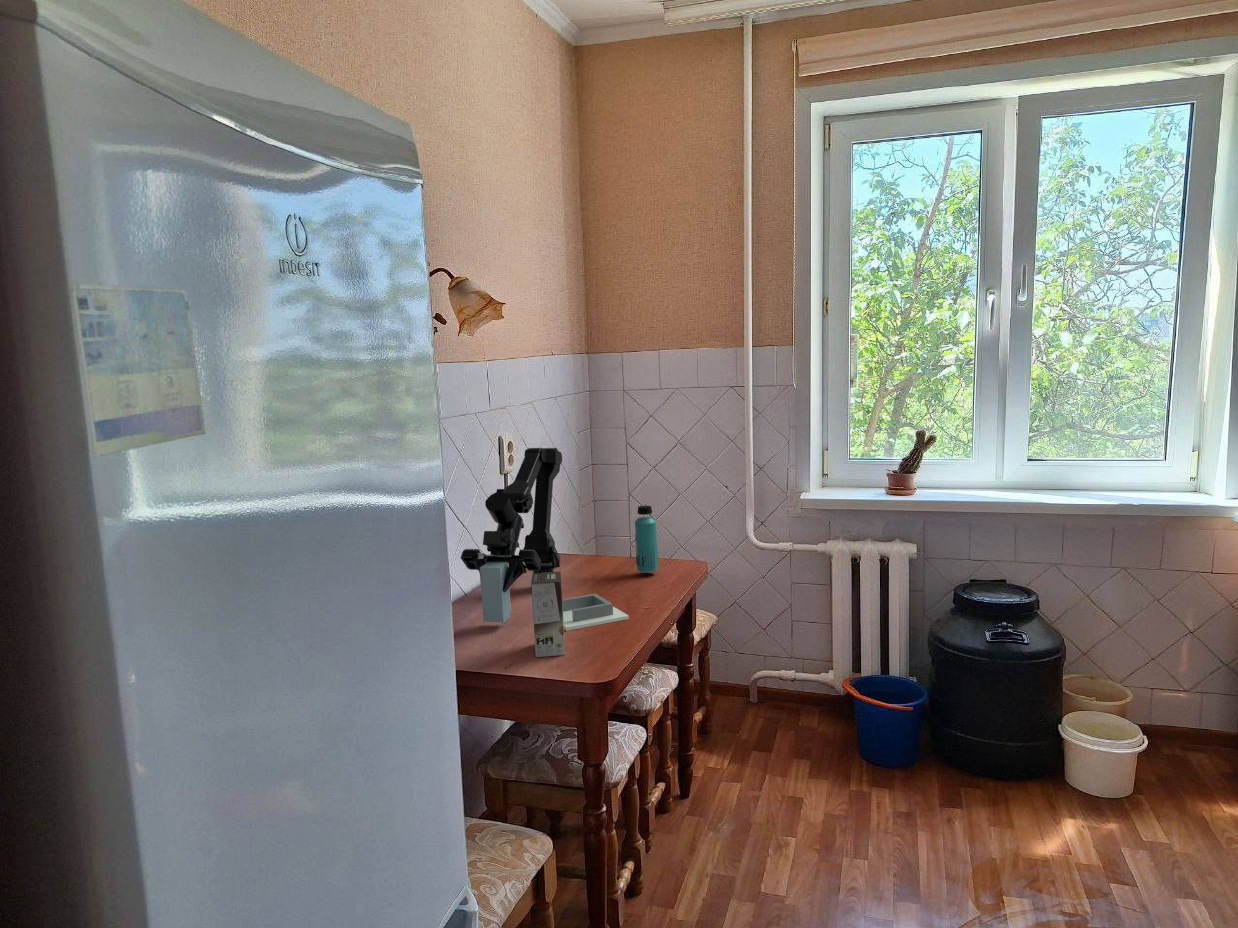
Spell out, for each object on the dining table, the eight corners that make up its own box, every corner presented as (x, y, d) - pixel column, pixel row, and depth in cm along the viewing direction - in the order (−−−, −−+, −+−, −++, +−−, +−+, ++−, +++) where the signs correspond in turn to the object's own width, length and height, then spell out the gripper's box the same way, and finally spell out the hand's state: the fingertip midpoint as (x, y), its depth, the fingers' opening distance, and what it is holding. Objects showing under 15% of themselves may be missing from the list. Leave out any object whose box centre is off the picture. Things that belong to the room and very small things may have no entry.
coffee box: (565, 655, 175) (561, 581, 173) (535, 657, 174) (530, 583, 172) (564, 641, 184) (560, 570, 182) (536, 643, 183) (531, 572, 181)
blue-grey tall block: (491, 614, 199) (488, 562, 197) (511, 615, 198) (507, 562, 196) (483, 621, 194) (479, 567, 192) (503, 622, 193) (499, 567, 191)
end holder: (542, 613, 205) (542, 599, 205) (601, 602, 212) (601, 589, 211) (566, 630, 191) (565, 616, 190) (628, 618, 197) (628, 604, 197)
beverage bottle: (662, 572, 239) (659, 503, 236) (655, 578, 233) (652, 508, 230) (640, 571, 241) (637, 503, 238) (633, 577, 235) (630, 507, 232)
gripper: (460, 516, 199) (444, 573, 190) (534, 516, 194) (520, 574, 185) (476, 540, 207) (461, 596, 198) (547, 541, 203) (534, 598, 194)
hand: (493, 590), depth 193 cm, fingers closed on blue-grey tall block, 5 cm apart
